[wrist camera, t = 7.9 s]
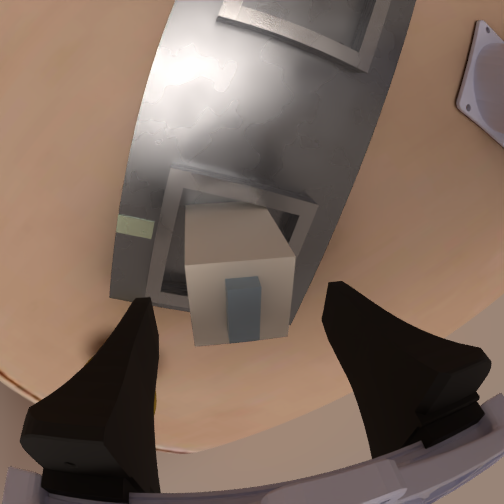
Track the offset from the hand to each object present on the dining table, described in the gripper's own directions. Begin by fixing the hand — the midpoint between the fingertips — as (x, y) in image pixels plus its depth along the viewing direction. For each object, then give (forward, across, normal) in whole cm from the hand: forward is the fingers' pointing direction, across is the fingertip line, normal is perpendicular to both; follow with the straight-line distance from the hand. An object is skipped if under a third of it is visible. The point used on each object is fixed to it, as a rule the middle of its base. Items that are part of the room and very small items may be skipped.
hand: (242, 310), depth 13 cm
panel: (+7, -2, -7) cm, 10 cm away
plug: (+6, 0, 0) cm, 6 cm away
